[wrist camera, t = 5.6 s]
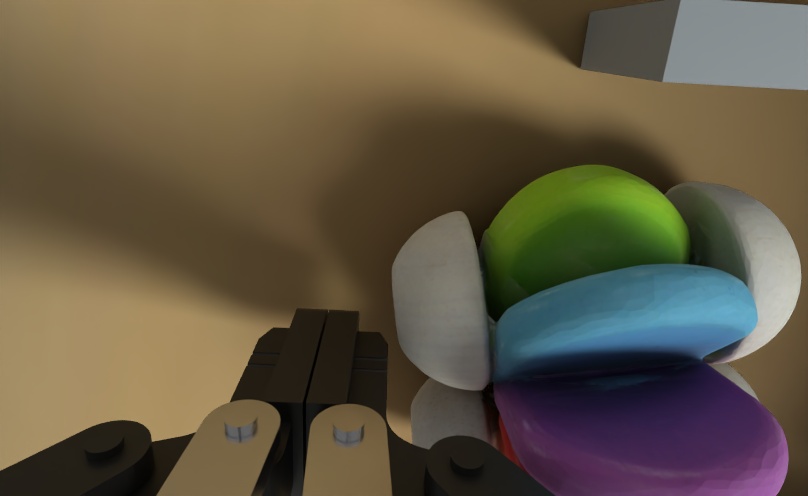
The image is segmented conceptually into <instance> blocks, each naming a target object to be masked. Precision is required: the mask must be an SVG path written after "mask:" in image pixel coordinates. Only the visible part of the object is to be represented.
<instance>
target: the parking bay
mask: <svg viewBox="0 0 808 496" xmlns="http://www.w3.org/2000/svg"><path fill="white" fill-rule="evenodd" d="M580 69H583V70H590V71H596V72H602V73H609V74H615V75H621V76H628V77H634V78H640V79H647V80H653V81H660V82H672V83H690V84H708V85H726V86H743V87H761V88H779V89H797V90H808V5H796V4H780V3H763V2H747V1H730V0H662V1H656V2H649V3H642V4H636V5H629V6H623V7H616V8H610V9H603V10H597V11H590V15H589V21H588V27H587V33H586V39H585V45H584V51H583V57H582V63H581V68H580Z"/></svg>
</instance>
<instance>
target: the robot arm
mask: <svg viewBox="0 0 808 496" xmlns="http://www.w3.org/2000/svg"><path fill="white" fill-rule="evenodd" d="M387 360H388V344H387V343H386V341H385V340H384V338H383V337H382V335H381V334H380V332H359V311H345V310H329V313H328V310H323V309H302V308H297V310H296V312H295V315H294V318H293V320H292V323H291V326H290V328H274V327H273V328H272V329H271V330H269V331H268V332H267V333H266V334H264V335H263V336H262V337H261V338H259V340H258V342H257V344H256V346H255V349H254V351H253V355H251V357H250V359H249V362H248V366H246V368H245V370H244V372H243V375H242V377H241V379H240V381H239V383H238V385H237V387H236V390H235V392H234V394H233V396H232V398H231V400H230V403H227V404H224V405H222V406H220V407H218V408H216V409H215V410H213V411H212V412H211V413H210V414H208V415H207V416H206V418H205V419H204V420H203V422H202V424H201V425H200V427H199V428H198V430H197V432H195V433H192V434H189V435H185V436H181V437H176V438H170V439H165V440H160V441H154V442H152V440H151V434H150V432H149V430H148V429H147V428H146V427H145V426H144V425H142V424H140V423H138V422H134V421H127V420H118V421H110V422H105V423H101V424H98V425H95V426H92V427H90V428H88V429H86V430H84V431H81V432H79V433H77V434H75V435H73V436H71V437H69V438H67V439H65V440H63V441H61V442H59V443H57V444H55V445H53V446H51V447H49V448H47V449H44V450H42V451H40V452H38V453H36V454H34V455H32V456H30V457H28V458H26V459H24V460H22V461H20V462H18V463H16V464H14V465H12V466H10V467H7V468H5V469H3V470H1V471H0V496H555V495H554V494H553V493H552V492H550V491H549V490H548V489H546V488H545V487H544V486H543V485H541V484H540V483H539V482H538V481H536V480H535V479H534V478H533V477H531V476H530V475H529V474H528V473H526V472H525V471H524V470H522V469H521V468H520V467H519V466H517V465H516V464H515V463H514V462H512V461H511V460H510V459H509V458H507V457H506V456H505V455H504V454H502V453H501V452H500V451H498V450H497V449H496V448H495V447H493V446H492V445H490V444H489V443H487V442H485V441H483V440H481V439H478V438H475V437H471V436H464V435H456V436H449V437H446V438H443V439H441V440H439V441H437V442H436V443H434V444H433V445H432V446H431V448H430V449H426V448H422V447H419V446H416V445H413V444H410V443H408V442H406V441H404V440H403V439H401V438H400V437H398V436H397V435H396V434H395V433H394V432H393V431H392V430H391V428H390V426H389V425H388V422H387V419H386V400H387V363H388V361H387Z"/></svg>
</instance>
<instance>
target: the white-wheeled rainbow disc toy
mask: <svg viewBox="0 0 808 496" xmlns="http://www.w3.org/2000/svg"><path fill="white" fill-rule="evenodd" d="M800 285H801V265H800V259H799V256H798V252H797V249H796V247H795V244H794V242H793V240H792V238H791V236H790V234H789V232H788V231H787V229H786V227H785V226H784V225H783V223H782V222H781V221H780V220H779V219H778V218H777V216H776V215H775V214H774V213H773V212H772V211H771V210H770V209H769V208H767V207H766V206H765V205H763V204H762V203H761V202H760V201H758V200H756V199H755V198H753V197H751V196H749V195H748V194H746V193H744V192H741V191H739V190H736V189H733V188H731V187H727V186H724V185H720V184H714V183H706V182H685V183H681V184H678V185H676V186H674V187H672V188H671V189H669V190H668V192H667V193H666V194H664V195H663V194H662V193H661V192H660V191H659V190H658V189H657V188H655V187H654V186H652V185H651V184H649V183H648V182H647V181H645V180H643V179H641V178H639V177H637V176H635V175H633V174H631V173H628V172H626V171H624V170H621V169H618V168H615V167H610V166H605V165H580V166H575V167H570V168H565V169H561V170H558V171H555V172H552V173H549V174H546V175H544V176H542V177H540V178H538V179H536V180H534V181H533V182H531V183H530V184H528V185H527V186H526V187H524V188H523V189H522V190H520V191H519V192H518V193H517V194H516V195H515V196H513V197H512V198H511V199H510V200H509V201H508V202H507V204H506V205H505V206H504V207H503V208H502V209H501V211H500V212H499V213H498V215H497V216H496V217H495V219H494V220H493V222H492V223H491V225H490V227H489V228H488V229H486V230H485V231H484V233H483V236H482V240H481V245H480V248H479V250H478V252H477V247H476V243H475V240H474V236H473V233H472V229H471V226H470V223H469V220H468V218H467V216H466V214H464V213H463V212H462V211H454V212H450V213H447V214H444V215H442V216H439V217H437V218H435V219H433V220H431V221H430V222H428V223H426V224H425V225H424V226H422V227H421V228H420V229H418V230H417V231H416V232H415V233H414V234H413V235H412V236H411V237H410V238H409V239H408V240H407V242H406V243H405V244H404V245H403V247H402V248H401V250H400V251H399V253H398V255H397V256H396V259H395V261H394V263H393V266H392V291H393V302H394V311H395V320H396V328H397V335H398V341H399V344H400V347H401V349H402V351H403V352H404V353H405V355H406V356H407V357H408V358H409V360H410V361H411V362H412V363H413V364H414V365H415V366H417V367H418V368H419V369H420V370H421V371H422V372H423V373H425V374H426V375H428V376H429V377H430V378H429V379H427V381H426V382H425V383H424V384H423V385H422V387H421V388H420V389H419V391H418V392H417V394H416V395H415V397H414V399H413V402H412V405H411V427H412V440H413V445H416V446H419V447H422V448H426V449H430V448H431V446H432V445H433V444H434V443H436V442H437V441H439V440H441V439H443V438H446V437H449V436H456V435H464V436H471V437H475V438H478V439H481V440H483V441H485V442H487V443H489V444H490V445H492V446H493V447H495V448H496V449H497V450H498V451H500V452H501V453H502V454H504V455H505V456H506V457H507V458H509V459H510V460H511V461H512V462H514V463H515V464H516V465H517V466H519V467H520V468H521V469H522V470H524V471H525V472H526V473H528V474H529V475H530V476H531V477H533V478H534V479H535V480H536V481H538V482H539V483H540V484H541V485H543V486H544V487H545V488H546V489H548V490H549V491H550V492H552V493H553V494H554V495H555V496H776V495H777V494H778V492H779V491H780V489H781V487H782V485H783V483H784V480H785V477H786V474H787V469H788V462H789V457H788V446H787V441H786V437H785V434H784V431H783V429H782V427H781V426H780V424H779V423H778V421H777V420H776V419H775V417H774V416H773V415H772V414H771V413H770V412H769V411H768V410H767V409H766V408H765V407H764V406H763V405H762V404H761V403H760V401H759V399H758V398H757V396H756V394H755V392H754V391H753V390H752V388H751V387H750V386H749V384H748V383H747V382H746V381H745V380H744V379H743V377H742V376H741V375H740V374H739V373H738V372H736V371H735V370H734V369H733V368H732V367H731V366H730V365H728V364H727V363H726V362H730V361H733V360H736V359H739V358H742V357H744V356H746V355H748V354H750V353H752V352H754V351H756V350H757V349H759V348H761V347H762V346H764V345H765V344H766V343H768V342H769V341H770V340H771V339H772V338H774V337H775V336H776V335H777V334H778V332H779V331H780V330H781V329H782V328H783V327H784V325H785V324H786V322H787V321H788V319H789V318H790V316H791V314H792V312H793V310H794V308H795V306H796V303H797V299H798V296H799V293H800ZM492 381H493V382H494V383H493V384H492V385H491V386H490V388H489V390H488V391H487V392H483V390H482V389H484V388H485V387H486V385H487V384H489V383H490V382H492Z"/></svg>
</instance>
